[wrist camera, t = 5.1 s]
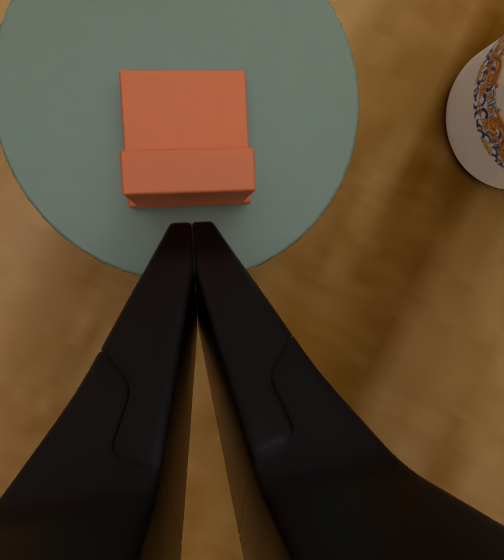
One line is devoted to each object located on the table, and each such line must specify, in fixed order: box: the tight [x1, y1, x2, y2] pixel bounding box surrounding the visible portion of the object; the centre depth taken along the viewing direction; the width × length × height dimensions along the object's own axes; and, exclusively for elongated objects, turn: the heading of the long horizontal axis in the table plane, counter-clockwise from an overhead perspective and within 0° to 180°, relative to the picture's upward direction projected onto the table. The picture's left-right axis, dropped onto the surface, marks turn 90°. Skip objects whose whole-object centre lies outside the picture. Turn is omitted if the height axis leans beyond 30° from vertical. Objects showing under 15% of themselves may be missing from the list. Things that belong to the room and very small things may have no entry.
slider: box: [119, 70, 256, 208], centre depth 9 cm, size 3×3×3 cm
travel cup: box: [0, 0, 359, 276], centre depth 15 cm, size 9×9×10 cm
